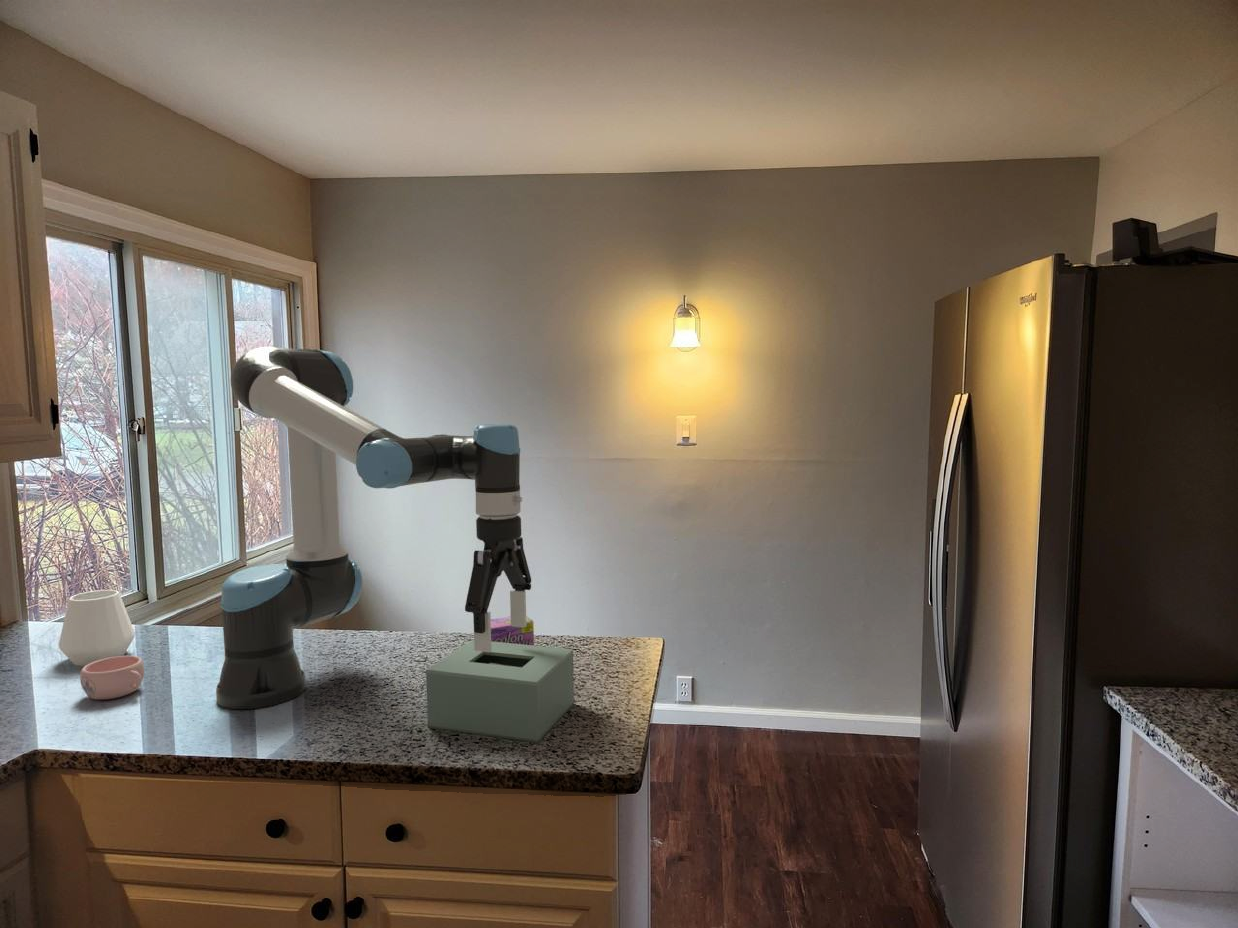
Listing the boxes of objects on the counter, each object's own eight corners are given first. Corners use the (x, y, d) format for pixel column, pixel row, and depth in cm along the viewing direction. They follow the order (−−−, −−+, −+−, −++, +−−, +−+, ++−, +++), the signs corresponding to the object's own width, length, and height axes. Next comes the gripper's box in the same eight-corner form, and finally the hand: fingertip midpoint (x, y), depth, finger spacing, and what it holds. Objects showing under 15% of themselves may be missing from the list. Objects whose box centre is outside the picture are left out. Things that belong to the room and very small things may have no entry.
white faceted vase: (148, 654, 163) (143, 591, 162) (77, 673, 152) (72, 606, 150) (118, 644, 170) (113, 583, 169) (48, 661, 159) (43, 597, 158)
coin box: (427, 727, 125) (425, 669, 124) (474, 691, 140) (472, 639, 139) (537, 742, 119) (536, 682, 118) (574, 703, 134) (573, 649, 133)
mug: (68, 701, 138) (66, 669, 137) (120, 681, 147) (118, 652, 147) (116, 709, 134) (113, 677, 133) (165, 688, 143) (163, 658, 143)
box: (484, 689, 141) (482, 628, 140) (475, 679, 146) (473, 620, 145) (535, 679, 146) (534, 620, 145) (525, 670, 151) (524, 613, 150)
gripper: (483, 529, 114) (487, 664, 116) (547, 505, 137) (550, 618, 139) (440, 526, 116) (444, 660, 118) (510, 504, 140) (513, 615, 141)
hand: (501, 638), depth 128 cm, fingers open, 13 cm apart
